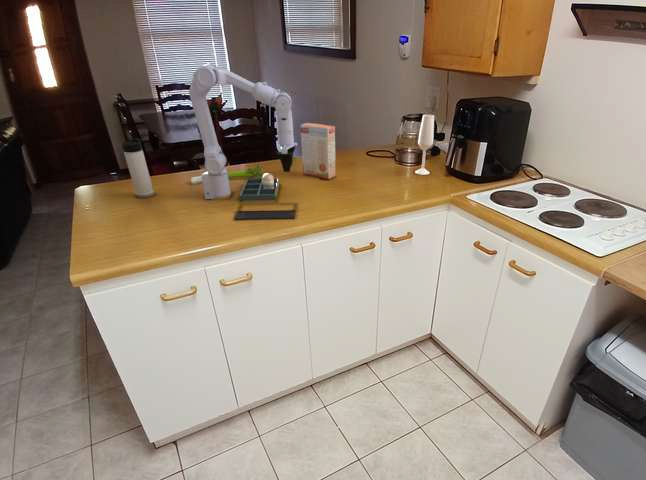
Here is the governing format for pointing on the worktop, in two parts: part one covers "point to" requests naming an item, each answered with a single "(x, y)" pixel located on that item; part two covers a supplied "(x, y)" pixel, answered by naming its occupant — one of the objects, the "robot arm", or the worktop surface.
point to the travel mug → (138, 168)
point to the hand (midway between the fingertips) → (288, 168)
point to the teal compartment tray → (258, 190)
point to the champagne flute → (426, 139)
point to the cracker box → (318, 150)
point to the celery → (236, 174)
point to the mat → (265, 215)
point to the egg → (268, 181)
